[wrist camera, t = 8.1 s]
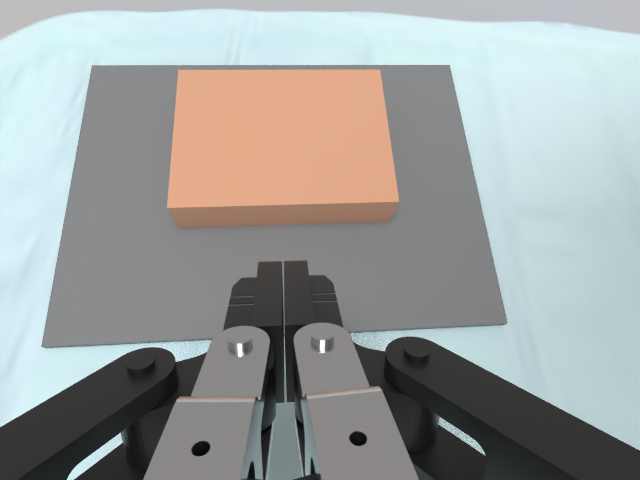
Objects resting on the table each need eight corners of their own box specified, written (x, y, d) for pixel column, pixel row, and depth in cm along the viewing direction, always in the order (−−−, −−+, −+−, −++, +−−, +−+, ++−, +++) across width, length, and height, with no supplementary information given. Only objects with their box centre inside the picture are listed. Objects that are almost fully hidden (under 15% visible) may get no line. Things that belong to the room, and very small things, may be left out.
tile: (389, 221, 25) (372, 97, 28) (399, 201, 22) (380, 69, 26) (179, 227, 24) (188, 98, 27) (166, 207, 22) (178, 69, 25)
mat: (447, 69, 30) (449, 65, 30) (504, 324, 23) (507, 323, 23) (94, 70, 28) (92, 65, 28) (45, 347, 21) (41, 346, 21)
